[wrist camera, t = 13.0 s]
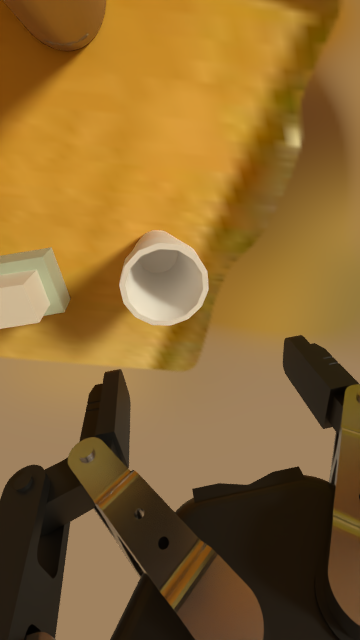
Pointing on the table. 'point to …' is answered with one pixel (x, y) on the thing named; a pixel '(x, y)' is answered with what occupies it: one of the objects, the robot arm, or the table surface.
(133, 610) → the robot arm
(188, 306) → the foam cup
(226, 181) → the table surface
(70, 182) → the table surface
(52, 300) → the green block
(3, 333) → the table surface
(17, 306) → the cream cube
